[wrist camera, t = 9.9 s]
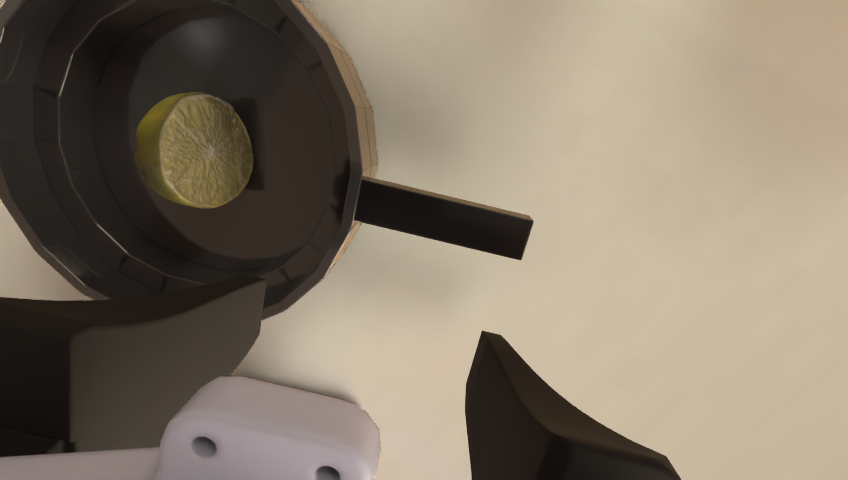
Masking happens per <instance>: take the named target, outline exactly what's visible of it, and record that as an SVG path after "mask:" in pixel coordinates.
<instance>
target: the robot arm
mask: <svg viewBox="0 0 848 480" xmlns="http://www.w3.org/2000/svg"><path fill="white" fill-rule="evenodd" d="M266 282H267V279H263V278H259V277H255V276H251V275H244V276H238V277H233V278H229V279H225V280H221V281H217V282H213V283H209V284H205V285H201V286H197V287H192V288H188V289H183V290H178V291H174V292H169V293H164V294H158V295H151V296H143V297H135V298H125V299H109V300H93V301H53V300H32V299H18V298H4V297H0V480H375V474H376V469H377V465H378V460H379V455H380V450H381V446H380V432H379V428H378V427H377V425H376V424H375V423H374V421H373V420H372V419H371V417H370V416H369V415H368V413H367V412H366V411H365V410H363V409H362V408H361V407H360V406H358V405H355V404H351V403H348V402H346V401H344V400H340V399H336V398H332V397H328V396H323V395H319V394H315V393H311V392H306V391H302V390H298V389H294V388H290V387H285V386H281V385H277V384H273V383H269V382H264V381H260V380H256V379H252V378H247V377H238V376H229V375H230V374H231V373H232V372H233V371H234V370H235V368H236V367H237V366H238V365H239V364H240V363H241V361H242V360H243V359H244V358H245V356H246V355H247V353H248V352H249V350H250V349H251V347H252V346H253V344H254V342H255V341H256V339H257V337H258V336H259V333H260V325H261V318H262V311H263V304H264V297H265V289H266ZM465 415H466V425H467V435H468V444H469V454H470V463H471V473H472V480H681V478H680V477H679V475H678V474H677V472H676V471H675V469H674V468H673V466H672V464H671V463H670V461H669V460H668V458H667V457H666V456H664V455H662V454H660V453H658V452H655V451H653V450H651V449H649V448H647V447H644V446H642V445H640V444H638V443H636V442H633V441H631V440H629V439H627V438H625V437H624V436H622V435H620V434H618V433H616V432H614V431H613V430H611V429H609V428H607V427H606V426H604V425H602V424H600V423H599V422H597V421H596V420H594V419H592V418H591V417H589V416H588V415H586V414H585V413H583V412H582V411H580V410H579V409H578V408H576V407H575V406H573V405H572V404H571V403H569V402H568V401H567V400H566V399H564V398H563V397H562V396H561V395H559V394H558V393H557V392H556V391H554V390H553V389H552V388H551V387H550V386H549V385H548V384H547V383H546V382H545V381H543V380H542V379H541V378H540V377H539V376H538V375H537V374H536V373H535V372H534V371H533V370H532V369H531V368H530V367H529V365H528V364H527V363H526V362H525V361H524V360H523V359H522V358H521V357H520V356H519V355H518V353H517V352H516V351H515V350H514V349H513V348H512V347H511V345H510V344H509V343H508V342H507V341H506V340H505V339H504V338H503V337H502V336H501V335H498V334H494V333H490V332H485V331H482V333H481V336H480V340H479V343H478V346H477V350H476V353H475V356H474V360H473V363H472V366H471V369H470V373H469V376H468V379H467V383H466V398H465Z"/></svg>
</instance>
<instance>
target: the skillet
mask: <svg viewBox="0 0 848 480" xmlns="http://www.w3.org/2000/svg"><path fill="white" fill-rule="evenodd" d="M190 92H203V93H210V94H212V95H215V96H218V97H220V98H221V99H222V100H225V101H226V102H228V103H230V104H231V105H232V106H233V108H234V111H235V113H237V114H238V115H239V118H240V119H241V121H242V122H243V124H244V126H245V128H246V130H247V133H248V135H249V138H250V141H251V148H252V155H253V170H252V173H251V174H250V178H249V181H248V183H247V185H246V186H245V187H244V189H243V190H242V192H241V193H240V194H239V195H238V196H237V197H235V198H234V199H232V200H231V201H229V202H228V203H226V204H224V205H222V206H219V207H216V208H196V207H192V206H187V205H183V204H179V203H176V202H173V201H171V200H169V199H167V198H165V197H163V196H162V195H160V194H158V193H157V192H156V191H155V190H154V189H152V188H151V187H150V186H149V185H148V183H147V182H146V181H145V179H144V177H143V175H142V172H141V170H140V169H139V167H138V165H137V163H136V161H135V150H136V146H137V145H136V137H135V135H136V130H137V127H138V125H139V123H140V121H141V120H142V119H143V118H144V116H145V115H146V114H147V112H148V111H149V110H150V109H151V108H152V107H153V106H155V105H156V104H157V103H159V102H161V101H162V100H164V99H165V98H167V97H169V96H173V95H176V94H182V93H190ZM377 166H378V155H377V146H376V137H375V128H374V119H373V110H372V107H371V104H370V102H369V100H368V97H367V95H366V93H365V90H364V88H363V86H362V83H361V81H360V79H359V76H358V74H357V72H356V69H355V67H354V65H353V63H352V60H351V58H350V57H349V55H348V53H347V52H346V51H345V50H344V49H343V48H342V46H341V45H340V44H339V43H338V42H337V40H336V39H335V38H334V37H333V36H332V34H331V33H330V32H329V31H328V30H327V29H326V27H325V26H324V25H323V24H322V23H321V21H320V20H319V19H318V18H317V17H316V16H315V14H314V13H313V12H312V11H311V10H310V9H308V8H307V7H306V6H305V5H303V4H302V3H301V2H300V1H298V0H6V2H5V3H4V4H3V6H2V7H1V8H0V198H1V200H2V202H3V204H4V205H5V207H6V208H7V210H8V211H9V213H10V214H11V216H12V217H13V219H14V220H15V222H16V223H17V225H18V226H19V228H20V229H21V231H22V232H23V234H24V235H25V237H26V238H27V240H28V241H29V243H30V244H31V246H32V247H33V249H34V250H35V251H37V254H39V255H40V256H41V257H42V258H43V259H44V260H45V261H46V262H47V263H48V264H50V265H51V266H52V267H53V268H54V269H55V270H56V271H57V272H58V273H59V274H61V275H62V276H63V277H64V278H65V279H66V280H67V281H68V282H69V283H70V284H72V285H73V286H74V287H75V288H76V289H77V290H78V291H79V292H81V293H82V294H84V295H86V296H88V297H90V298H91V299H93V300H109V299H125V298H135V297H143V296H151V295H158V294H164V293H169V292H174V291H178V290H183V289H188V288H192V287H197V286H201V285H205V284H209V283H213V282H217V281H221V280H225V279H229V278H233V277H238V276H244V275H251V276H255V277H259V278H263V279H267V282H266V289H265V297H264V304H263V311H262V318H261V320H263V319H266V318H269V317H271V316H274V315H276V314H279V313H282V312H284V311H285V310H287V309H288V308H289V307H291V306H292V305H293V304H294V303H295V302H296V301H298V300H299V299H300V298H301V297H302V296H303V295H305V294H306V293H307V292H308V291H309V290H310V289H312V288H313V287H314V286H315V285H316V284H318V283H319V282H320V281H321V280H322V279H323V278H324V277H325V276H326V275H327V274H328V272H329V271H330V270H331V269H332V267H333V266H334V265H335V263H336V262H337V261H338V260H339V258H340V257H341V256H342V255H343V253H344V252H345V251H346V249H347V248H348V246H349V244H350V242H351V241H352V239H353V237H354V235H355V234H356V232H357V230H358V229H359V227H360V225H361V223H362V222H359V221H355V214H356V209H357V204H358V199H359V194H360V188H361V183H362V179H364V178H365V177H370V178H374V179H375V176H376V171H377Z"/></svg>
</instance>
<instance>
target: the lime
mask: <svg viewBox="0 0 848 480" xmlns="http://www.w3.org/2000/svg"><path fill="white" fill-rule="evenodd" d="M135 137H136V145H137V146H136V150H135V161H136V163H137V165H138V167H139V169H140V170H141V172H142V175H143V177H144V179H145V181H146V182H147V183H148V185H149V186H150V187H151V188H152V189H154V190H155V191H156V192H157V193H158V194H160V195H162V196H163V197H165V198H167V199H169V200H171V201H173V202H176V203H179V204H183V205H187V206H192V207H196V208H216V207H219V206H222V205H224V204H226V203H228V202H229V201H231V200H232V199H234V198H235V197H237V196H238V195H239V194H240V193H241V192H242V190H243V189H244V187H245V186H246V185H247V183H248V181H249V178H250V174H251V173H252V170H253V155H252V148H251V141H250V138H249V135H248V133H247V130H246V128H245V126H244V124H243V122H242V121H241V119H240V118H239V115H238V114H237V113H235V111H234V108H233V106H232V105H231V104H230V103H228V102H226V101H225V100H222V99H221V98H220V97H218V96H215V95H212V94H210V93H203V92H190V93H182V94H176V95H173V96H169V97H167V98H165V99H164V100H162V101H161V102H159V103H157V104H156V105H155V106H153V107H152V108H151V109H150V110H149V111H148V112H147V114H146V115H145V116H144V118H143V119H142V120H141V121H140V123H139V125H138V127H137V130H136V135H135Z"/></svg>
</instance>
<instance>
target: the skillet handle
mask: <svg viewBox="0 0 848 480" xmlns="http://www.w3.org/2000/svg"><path fill="white" fill-rule="evenodd" d="M355 221H359V222H363V223H367V224H371V225H375V226H379V227H384V228H388V229H392V230H396V231H400V232H404V233H409V234H413V235H417V236H421V237H425V238H429V239H434V240H438V241H442V242H446V243H450V244H454V245H459V246H463V247H467V248H471V249H475V250H479V251H484V252H488V253H492V254H496V255H500V256H504V257H509V258H513V259H517V260H522V257H523V254H524V251H525V247H526V244H527V241H528V238H529V235H530V232H531V228H532V225H533V220H532V219H531V217H530V216H528V215H524V214H520V213H516V212H511V211H507V210H503V209H499V208H495V207H491V206H486V205H482V204H478V203H474V202H470V201H466V200H462V199H457V198H453V197H449V196H445V195H441V194H437V193H432V192H428V191H424V190H420V189H416V188H412V187H408V186H403V185H399V184H395V183H391V182H387V181H383V180H379V179H374V178H370V177H365V178H364V179H362V183H361V188H360V194H359V199H358V204H357V209H356V214H355Z"/></svg>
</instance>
